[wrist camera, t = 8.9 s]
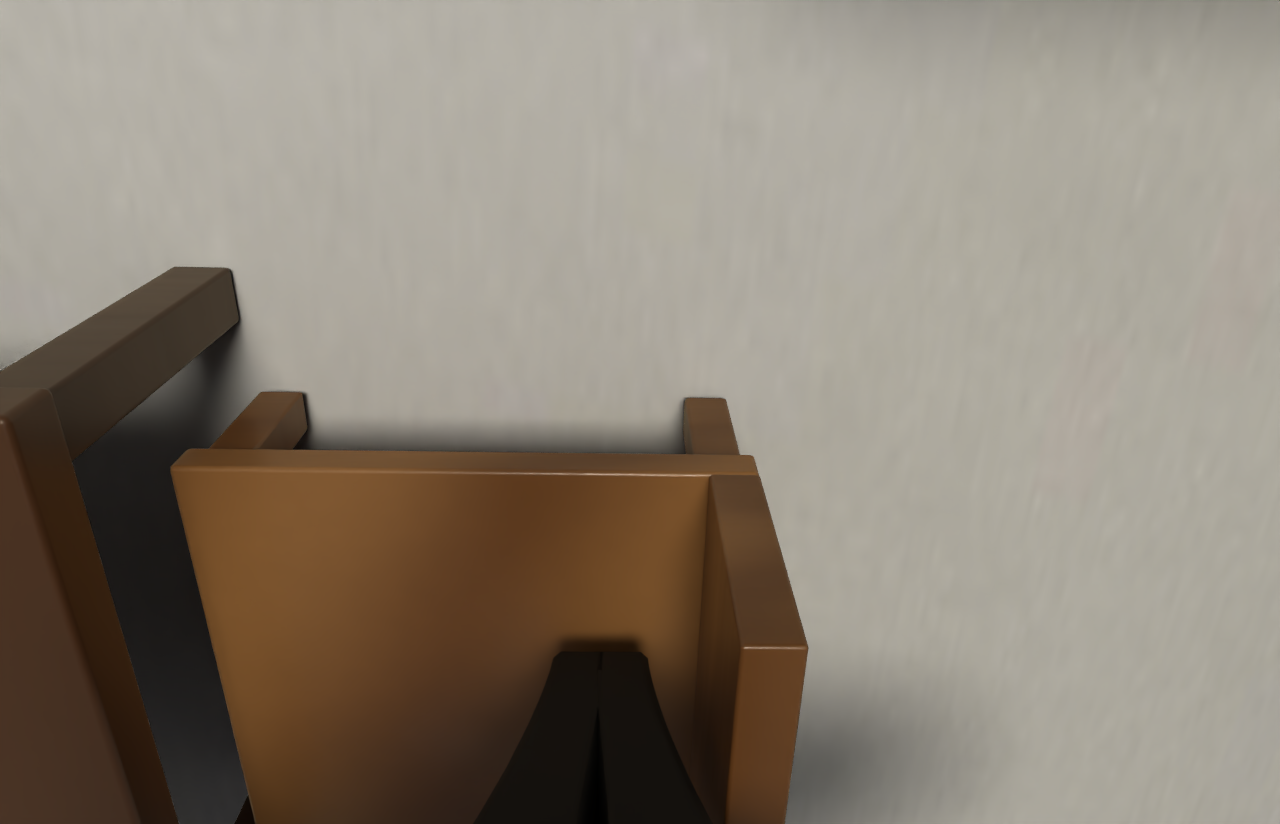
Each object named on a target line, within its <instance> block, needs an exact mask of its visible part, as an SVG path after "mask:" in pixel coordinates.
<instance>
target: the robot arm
mask: <svg viewBox="0 0 1280 824" xmlns="http://www.w3.org/2000/svg"><path fill="white" fill-rule="evenodd" d="M473 824H713V823H712V821H711V819H710V817H709V816H708V814H707V812H706V810H705V808H704V806H703V804H702V802H701V800H700V798H699V796H698V794H697V792H696V790H695V788H694V786H693V784H692V782H691V780H690V778H689V776H688V774H687V772H686V769H685V767H684V765H683V762H682V760H681V758H680V756H679V753H678V751H677V749H676V747H675V744H674V742H673V740H672V737H671V735H670V732H669V730H668V727H667V725H666V722H665V719H664V716H663V713H662V711H661V708H660V705H659V702H658V699H657V696H656V692H655V689H654V686H653V682H652V678H651V673H650V669H649V663H648V658H647V657H646V656H645V655H644V654H643V653H642V652H568V651H561V652H560V653H559V654H557V655H556V656H555V657H554V658H553V661H552V665H551V668H550V672H549V675H548V678H547V680H546V683H545V686H544V689H543V691H542V694H541V696H540V699H539V701H538V703H537V706H536V708H535V710H534V712H533V715H532V717H531V719H530V721H529V724H528V726H527V728H526V730H525V732H524V734H523V736H522V738H521V740H520V742H519V744H518V746H517V748H516V749H515V751H514V753H513V755H512V757H511V759H510V761H509V763H508V765H507V767H506V769H505V771H504V772H503V774H502V776H501V778H500V779H499V781H498V783H497V784H496V786H495V788H494V790H493V791H492V793H491V795H490V796H489V798H488V800H487V801H486V803H485V805H484V806H483V808H482V810H481V812H480V813H479V815H478V817H477V818H476V820H475V821H474V823H473Z"/></svg>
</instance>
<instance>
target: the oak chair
mask: <svg viewBox="0 0 1280 824" xmlns="http://www.w3.org/2000/svg"><path fill="white" fill-rule="evenodd" d="M306 430H307V422H306V416H305V409H304V403H303V397H302V393H300V392H261V393H259V394H258V395H257V396H256V398H255V399H254V400H253V401H252V402H251V403H250V404H249V405H248V406H247V407H246V408H245V410H244V411H243V412H242V413H241V414H240V415H239V416H238V417H237V418H236V419H235V420H234V421H233V423H232V424H231V425H230V426H229V427H228V428H227V429H226V430H225V431H224V432H223V433H222V435H221V436H220V437H219V438H218V439H217V440H216V441H215V442H214V443H213V444H212V445H211V447H210V448H209V449H188V450H186V451H185V452H184V453H183V454H182V455H181V456H180V457H179V458H178V459H177V460H176V462H175V463H174V464H173V465H172V466H171V469H170V473H171V477H172V481H173V485H174V489H175V493H176V497H177V502H178V506H179V510H180V514H181V518H182V522H183V526H184V531H185V535H186V539H187V543H188V547H189V551H190V555H191V560H192V564H193V568H194V572H195V576H196V580H197V584H198V589H199V593H200V597H201V601H202V605H203V609H204V613H205V618H206V622H207V626H208V630H209V634H210V638H211V642H212V647H213V651H214V655H215V659H216V663H217V667H218V671H219V676H220V680H221V684H222V688H223V692H224V696H225V700H226V705H227V709H228V713H229V717H230V721H231V725H232V729H233V734H234V738H235V742H236V746H237V750H238V754H239V758H240V763H241V767H242V771H243V775H244V779H245V783H246V787H247V792H248V796H249V800H250V804H251V808H252V812H253V816H254V821H255V824H473V823H474V821H475V820H476V818H477V817H478V815H479V813H480V812H481V810H482V808H483V806H484V805H485V803H486V801H487V800H488V798H489V796H490V795H491V793H492V791H493V790H494V788H495V786H496V784H497V783H498V781H499V779H500V778H501V776H502V774H503V772H504V771H505V769H506V767H507V765H508V763H509V761H510V759H511V757H512V755H513V753H514V751H515V749H516V748H517V746H518V744H519V742H520V740H521V738H522V736H523V734H524V732H525V730H526V728H527V726H528V724H529V721H530V719H531V717H532V715H533V712H534V710H535V708H536V706H537V703H538V701H539V699H540V696H541V694H542V691H543V689H544V686H545V683H546V680H547V678H548V675H549V672H550V668H551V665H552V661H553V658H554V657H555V656H556V655H557V654H559V653H560V652H561V651H568V652H642V653H643V654H644V655H645V656H646V657H647V658H648V663H649V669H650V673H651V678H652V682H653V686H654V689H655V692H656V696H657V699H658V702H659V705H660V708H661V711H662V713H663V716H664V719H665V722H666V725H667V727H668V730H669V732H670V735H671V737H672V740H673V742H674V744H675V747H676V749H677V751H678V753H679V756H680V758H681V760H682V762H683V765H684V767H685V769H686V772H687V774H688V776H689V778H690V780H691V782H692V784H693V786H694V788H695V790H696V792H697V794H698V796H699V798H700V800H701V802H702V804H703V806H704V808H705V810H706V812H707V814H708V816H709V817H710V819H711V821H712V823H713V824H785V817H786V810H787V803H788V795H789V788H790V780H791V773H792V766H793V758H794V751H795V743H796V736H797V729H798V721H799V714H800V706H801V699H802V691H803V684H804V677H805V669H806V662H807V654H808V644H807V641H806V637H805V634H804V630H803V627H802V623H801V620H800V616H799V613H798V609H797V606H796V602H795V598H794V595H793V591H792V588H791V584H790V581H789V577H788V574H787V570H786V567H785V563H784V560H783V556H782V553H781V549H780V546H779V542H778V539H777V535H776V532H775V528H774V525H773V521H772V518H771V514H770V510H769V507H768V503H767V500H766V496H765V493H764V489H763V486H762V482H761V479H760V477H759V474H758V470H757V467H756V463H755V460H754V457H753V456H751V455H740V453H739V449H738V445H737V441H736V437H735V434H734V430H733V426H732V422H731V418H730V414H729V410H728V406H727V402H726V400H725V399H723V398H687V399H686V400H685V403H684V424H683V435H684V442H685V450H686V454H620V453H534V452H447V451H361V450H292V449H293V448H294V447H295V445H296V444H297V443H298V441H299V440H300V438H301V437H302V436H303V434H304V433H305V432H306Z"/></svg>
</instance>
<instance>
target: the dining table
mask: <svg viewBox="0 0 1280 824" xmlns="http://www.w3.org/2000/svg"><path fill="white" fill-rule="evenodd" d="M238 320H239V317H238V311H237V306H236V301H235V295H234V290H233V285H232V279H231V274H230V270H229V269H228V268H210V267H173V268H171V269H170V270H168V271H166V272H165V273H163V274H161V275H160V276H158V277H156V278H155V279H153V280H151V281H150V282H148V283H146V284H145V285H143V286H141V287H140V288H138V289H136V290H135V291H133V292H131V293H130V294H128V295H126V296H125V297H123V298H121V299H120V300H118V301H116V302H115V303H113V304H111V305H110V306H108V307H106V308H105V309H103V310H102V311H100V312H98V313H97V314H95V315H93V316H92V317H90V318H88V319H87V320H85V321H83V322H82V323H80V324H78V325H77V326H75V327H73V328H72V329H70V330H68V331H67V332H65V333H63V334H62V335H60V336H58V337H57V338H55V339H53V340H52V341H50V342H48V343H47V344H45V345H43V346H42V347H40V348H38V349H37V350H35V351H33V352H32V353H30V354H28V355H27V356H25V357H23V358H22V359H20V360H18V361H17V362H15V363H13V364H12V365H10V366H8V367H7V368H5V369H3V370H2V371H0V824H179V822H178V818H177V815H176V812H175V808H174V805H173V801H172V798H171V795H170V791H169V788H168V784H167V781H166V778H165V774H164V771H163V768H162V764H161V761H160V757H159V754H158V751H157V747H156V744H155V741H154V737H153V734H152V730H151V727H150V724H149V720H148V717H147V713H146V710H145V707H144V703H143V700H142V697H141V693H140V690H139V686H138V683H137V680H136V676H135V673H134V669H133V666H132V663H131V659H130V656H129V653H128V649H127V646H126V642H125V639H124V636H123V632H122V629H121V626H120V622H119V619H118V615H117V612H116V609H115V605H114V602H113V598H112V595H111V592H110V588H109V585H108V582H107V578H106V575H105V571H104V568H103V565H102V561H101V558H100V554H99V551H98V548H97V544H96V541H95V538H94V534H93V531H92V527H91V524H90V521H89V517H88V514H87V510H86V507H85V504H84V500H83V497H82V494H81V490H80V487H79V483H78V480H77V477H76V473H75V470H74V467H73V463H72V461H73V460H74V459H75V458H77V457H78V456H79V455H80V454H81V453H83V452H84V451H85V450H86V449H87V448H88V447H90V446H91V445H92V444H93V443H94V442H96V441H97V440H98V439H99V438H100V437H102V436H103V435H104V434H105V433H106V432H107V431H109V430H110V429H111V428H112V427H113V426H115V425H116V424H117V423H118V422H119V421H121V420H122V419H123V418H124V417H125V416H126V415H128V414H129V413H130V412H131V411H132V410H134V409H135V408H136V407H137V406H138V405H140V404H141V403H142V402H143V401H144V400H145V399H147V398H148V397H149V396H150V395H151V394H153V393H154V392H155V391H156V390H157V389H159V388H160V387H161V386H162V385H163V384H164V383H166V382H167V381H168V380H169V379H170V378H172V377H173V376H174V375H175V374H176V373H177V372H179V371H180V370H181V369H182V368H183V367H185V366H186V365H187V364H188V363H189V362H191V361H192V360H193V359H194V358H195V357H196V356H198V355H199V354H200V353H201V352H202V351H204V350H205V349H206V348H207V347H208V346H210V345H211V344H212V343H213V342H214V341H215V340H217V339H218V338H219V337H220V336H221V335H223V334H224V333H225V332H226V331H227V330H229V329H230V328H231V327H232V326H233V325H234V324H236V323H237V322H238ZM234 824H255V821H254V816H253V812H252V808H251V804H250V800H249V796H247V798H246V800H245V802H244V804H243V806H242V808H241V810H240V813H239V815H238V817H237V819H236V821H235V823H234Z"/></svg>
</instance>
